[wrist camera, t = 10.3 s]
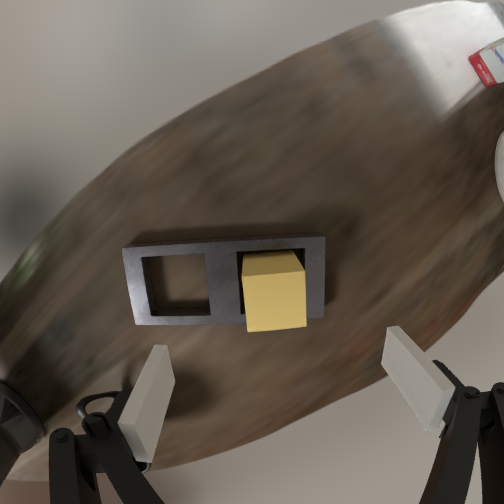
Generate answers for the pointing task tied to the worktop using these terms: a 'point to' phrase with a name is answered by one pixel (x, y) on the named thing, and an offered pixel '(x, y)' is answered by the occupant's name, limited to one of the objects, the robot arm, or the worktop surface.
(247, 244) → the frame with square openings
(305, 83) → the worktop surface
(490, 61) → the ink box
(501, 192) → the candlestick
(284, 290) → the yellow block
